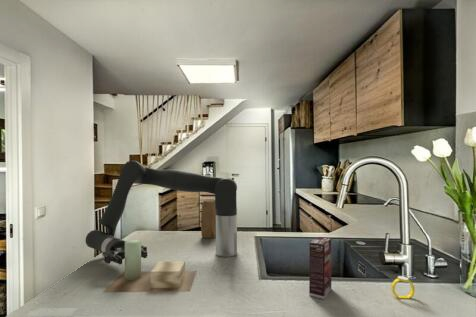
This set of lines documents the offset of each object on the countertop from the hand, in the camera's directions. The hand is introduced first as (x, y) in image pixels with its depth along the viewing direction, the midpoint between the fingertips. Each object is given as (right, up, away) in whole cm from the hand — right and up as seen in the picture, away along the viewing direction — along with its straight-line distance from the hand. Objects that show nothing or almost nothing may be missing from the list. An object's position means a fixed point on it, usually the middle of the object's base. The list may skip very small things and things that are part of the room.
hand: (134, 258), depth 96 cm
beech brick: (+12, -6, -3) cm, 14 cm away
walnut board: (+7, -8, -3) cm, 11 cm away
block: (+20, -9, +59) cm, 62 cm away
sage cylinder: (-1, -7, 0) cm, 7 cm away
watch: (+84, -7, -12) cm, 85 cm away
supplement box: (+61, -8, -9) cm, 62 cm away
